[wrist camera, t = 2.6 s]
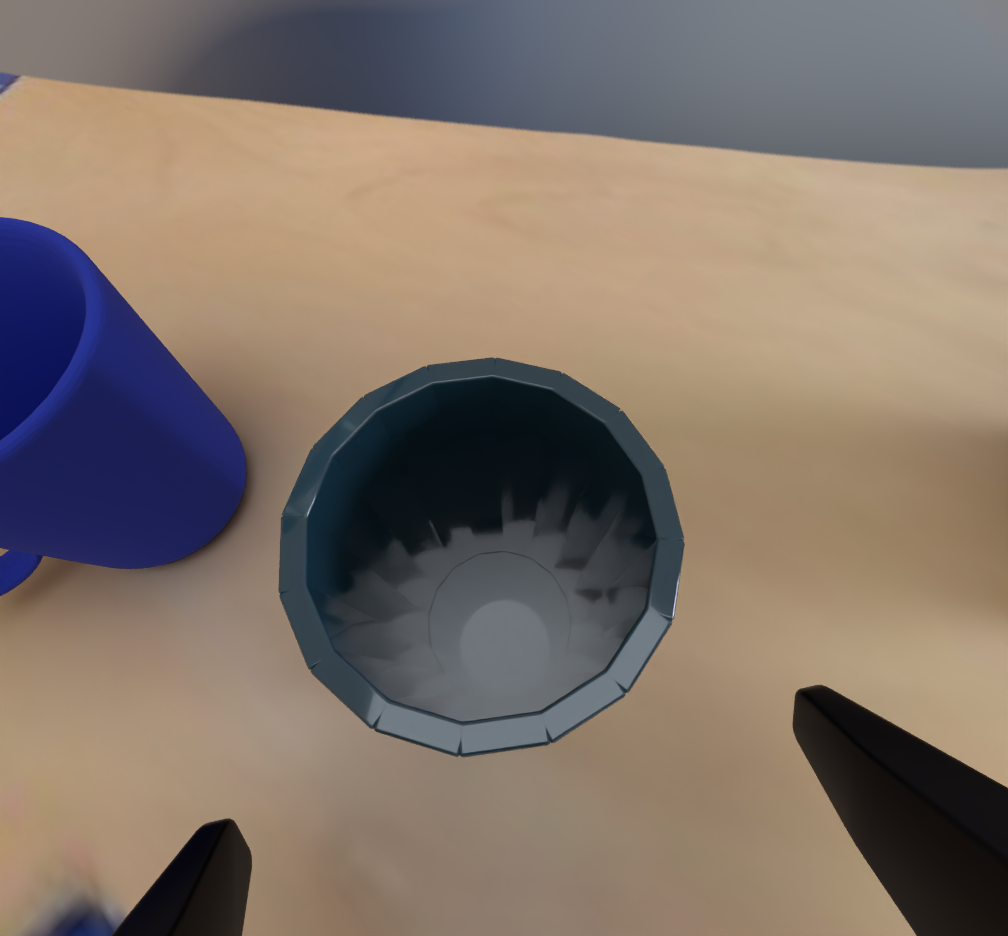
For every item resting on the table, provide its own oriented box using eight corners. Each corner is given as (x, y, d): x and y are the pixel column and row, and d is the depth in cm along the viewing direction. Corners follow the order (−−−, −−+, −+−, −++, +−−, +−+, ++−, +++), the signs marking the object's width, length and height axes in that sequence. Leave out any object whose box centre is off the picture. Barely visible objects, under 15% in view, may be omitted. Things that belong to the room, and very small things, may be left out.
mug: (-60, 554, 21) (-526, 448, 11) (206, 369, 24) (9, 166, 14) (33, 721, 18) (-459, 759, 9) (314, 492, 21) (162, 344, 12)
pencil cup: (559, 731, 18) (646, 816, 6) (398, 683, 19) (205, 679, 7) (593, 567, 20) (706, 402, 8) (448, 529, 21) (364, 327, 9)
